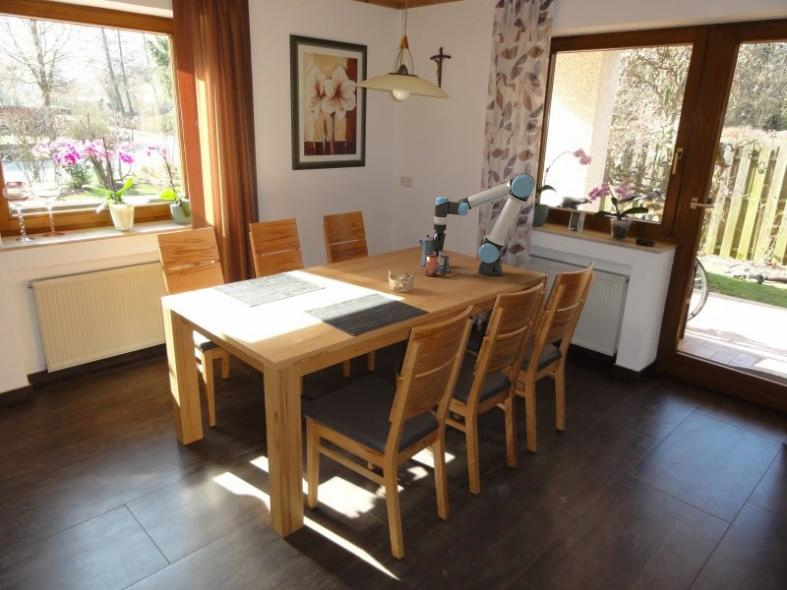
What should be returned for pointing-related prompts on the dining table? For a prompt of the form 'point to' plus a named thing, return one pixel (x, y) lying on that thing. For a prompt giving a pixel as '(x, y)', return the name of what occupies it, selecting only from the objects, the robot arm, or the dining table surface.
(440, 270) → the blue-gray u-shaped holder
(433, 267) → the copper container
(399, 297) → the dining table surface
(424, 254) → the moka pot
